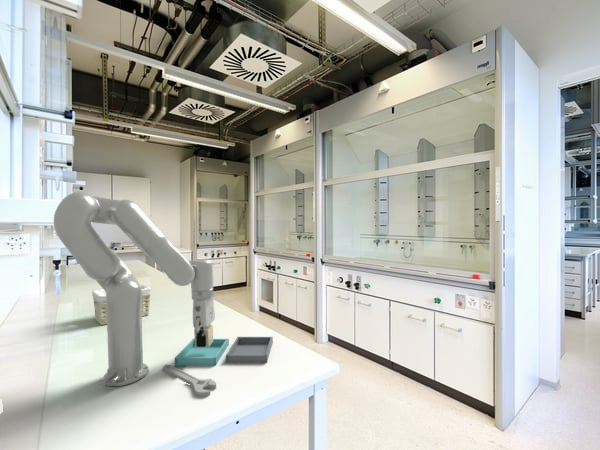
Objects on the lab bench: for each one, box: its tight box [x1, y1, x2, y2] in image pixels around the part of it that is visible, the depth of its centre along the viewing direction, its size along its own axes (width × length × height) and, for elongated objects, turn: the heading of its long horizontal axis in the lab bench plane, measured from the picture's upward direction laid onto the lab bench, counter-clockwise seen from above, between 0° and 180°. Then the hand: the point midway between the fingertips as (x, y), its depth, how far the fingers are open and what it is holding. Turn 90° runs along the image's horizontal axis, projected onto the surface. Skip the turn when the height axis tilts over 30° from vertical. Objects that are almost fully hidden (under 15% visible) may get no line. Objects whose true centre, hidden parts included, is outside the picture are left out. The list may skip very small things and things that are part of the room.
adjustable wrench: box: [162, 363, 217, 398], centre depth 94 cm, size 25×6×2 cm, turn 49°
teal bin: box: [174, 338, 230, 368], centre depth 109 cm, size 16×14×3 cm
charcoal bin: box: [225, 336, 274, 364], centre depth 111 cm, size 16×14×3 cm
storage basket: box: [91, 283, 152, 326], centre depth 153 cm, size 24×16×15 cm
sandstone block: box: [193, 324, 214, 347], centre depth 109 cm, size 5×5×6 cm
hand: (204, 342), depth 109 cm, fingers closed on sandstone block, 5 cm apart
